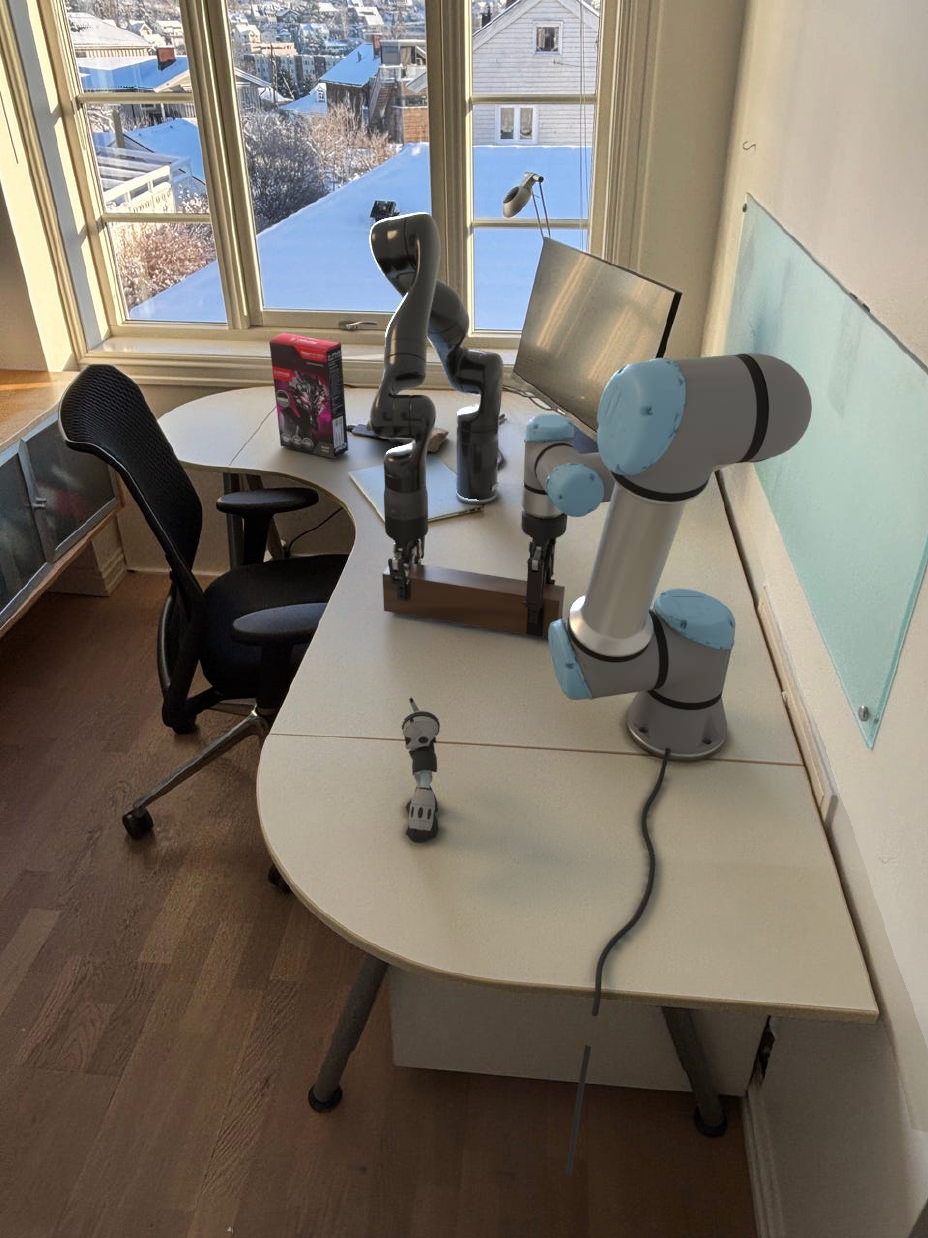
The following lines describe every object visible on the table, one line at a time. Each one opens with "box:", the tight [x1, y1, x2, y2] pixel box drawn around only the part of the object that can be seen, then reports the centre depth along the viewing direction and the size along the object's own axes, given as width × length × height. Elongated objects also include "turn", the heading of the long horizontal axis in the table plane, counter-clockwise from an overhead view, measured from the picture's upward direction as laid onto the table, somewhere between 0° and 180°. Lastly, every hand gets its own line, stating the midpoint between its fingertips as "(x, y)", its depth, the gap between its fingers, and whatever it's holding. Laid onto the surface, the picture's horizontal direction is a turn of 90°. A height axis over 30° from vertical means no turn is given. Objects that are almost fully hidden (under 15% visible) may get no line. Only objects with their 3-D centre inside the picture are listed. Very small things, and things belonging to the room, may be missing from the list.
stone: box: [365, 419, 449, 453], centre depth 234 cm, size 21×15×6 cm
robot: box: [400, 697, 441, 843], centre depth 121 cm, size 20×5×20 cm, turn 3°
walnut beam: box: [382, 563, 566, 639], centre depth 165 cm, size 5×32×8 cm, turn 75°
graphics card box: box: [268, 332, 349, 459], centre depth 224 cm, size 17×7×27 cm, turn 62°
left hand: (408, 591), depth 168 cm, fingers closed on walnut beam, 5 cm apart
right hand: (537, 625), depth 164 cm, fingers closed on walnut beam, 5 cm apart
